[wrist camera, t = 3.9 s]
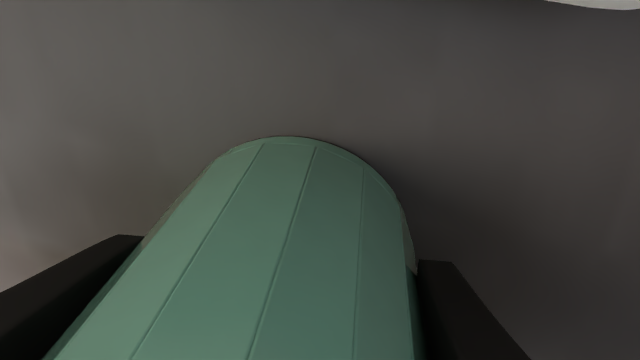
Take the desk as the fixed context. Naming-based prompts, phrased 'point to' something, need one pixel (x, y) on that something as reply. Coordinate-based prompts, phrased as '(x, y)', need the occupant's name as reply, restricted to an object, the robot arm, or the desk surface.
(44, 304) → the robot arm
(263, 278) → the tub
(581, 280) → the desk surface
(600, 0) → the can
